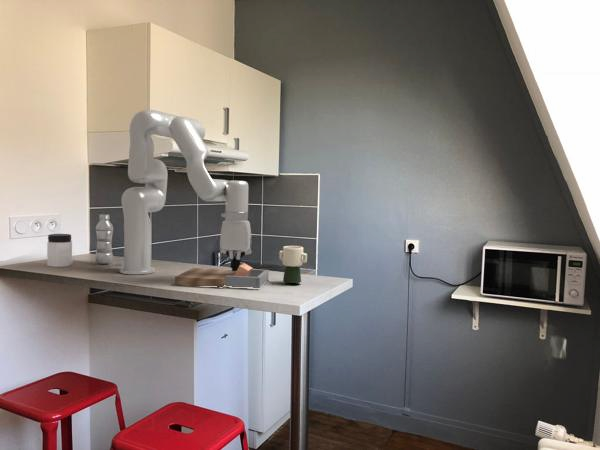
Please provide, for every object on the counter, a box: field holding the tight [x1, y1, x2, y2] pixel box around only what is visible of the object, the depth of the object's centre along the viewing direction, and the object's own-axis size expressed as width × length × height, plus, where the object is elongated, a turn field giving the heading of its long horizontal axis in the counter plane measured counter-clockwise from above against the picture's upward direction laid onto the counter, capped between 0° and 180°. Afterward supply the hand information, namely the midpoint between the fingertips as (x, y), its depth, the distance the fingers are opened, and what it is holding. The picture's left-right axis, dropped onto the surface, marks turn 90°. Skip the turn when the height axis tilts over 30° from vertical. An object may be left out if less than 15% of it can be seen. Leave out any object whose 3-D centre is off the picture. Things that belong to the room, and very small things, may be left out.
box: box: [225, 268, 270, 288], centre depth 171 cm, size 11×16×4 cm
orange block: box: [234, 262, 253, 277], centre depth 170 cm, size 6×6×4 cm
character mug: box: [278, 245, 308, 284], centre depth 174 cm, size 11×7×13 cm, turn 62°
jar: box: [46, 233, 73, 268], centre depth 195 cm, size 9×8×12 cm
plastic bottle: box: [95, 213, 114, 265], centre depth 201 cm, size 6×7×20 cm
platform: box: [174, 267, 236, 287], centre depth 172 cm, size 16×18×3 cm
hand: (235, 270), depth 171 cm, fingers closed
